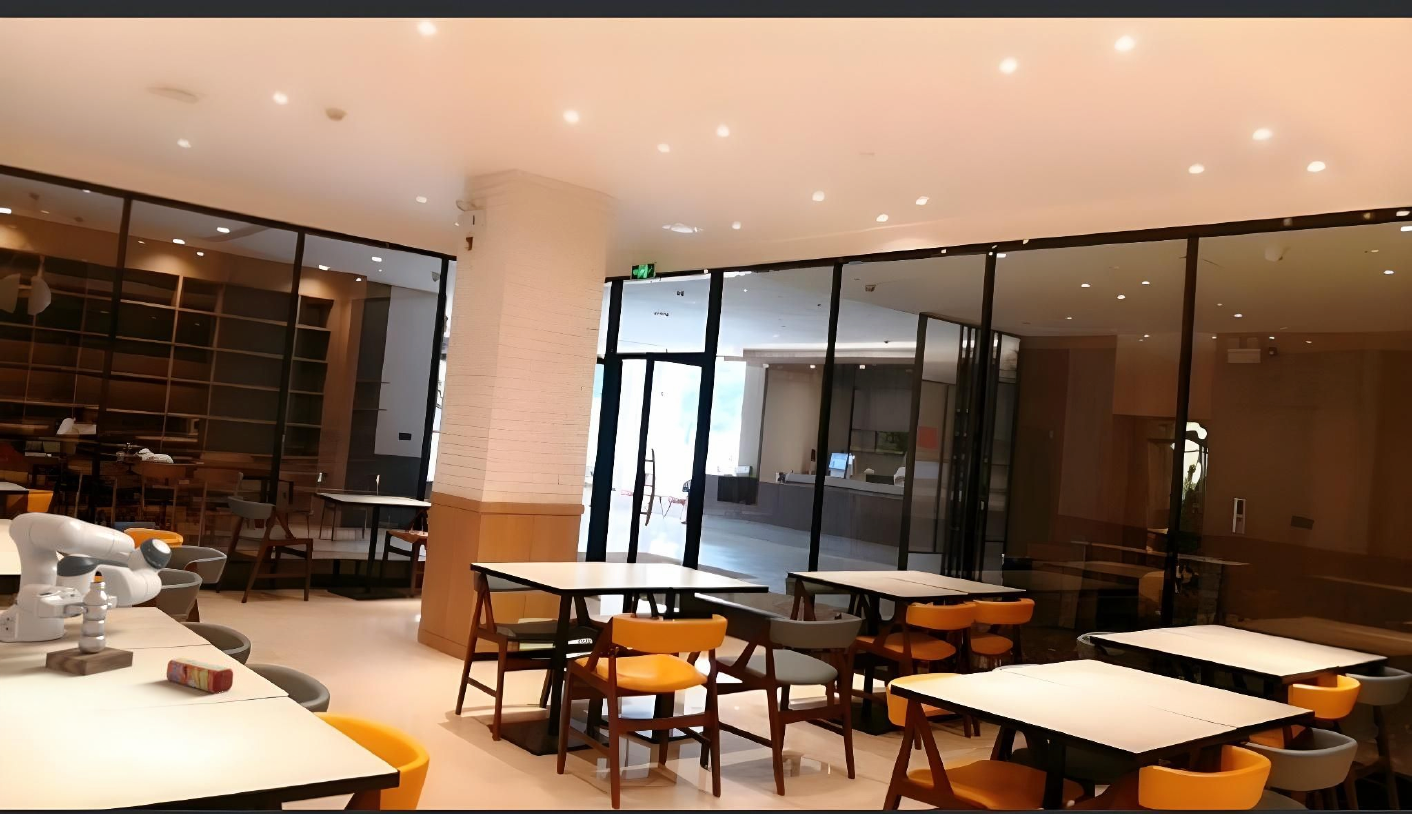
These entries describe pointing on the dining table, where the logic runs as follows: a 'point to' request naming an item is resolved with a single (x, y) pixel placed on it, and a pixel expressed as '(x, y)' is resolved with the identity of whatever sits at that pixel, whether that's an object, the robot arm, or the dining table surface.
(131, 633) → the dining table surface
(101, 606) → the plastic bottle
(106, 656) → the walnut stand
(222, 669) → the snack package
